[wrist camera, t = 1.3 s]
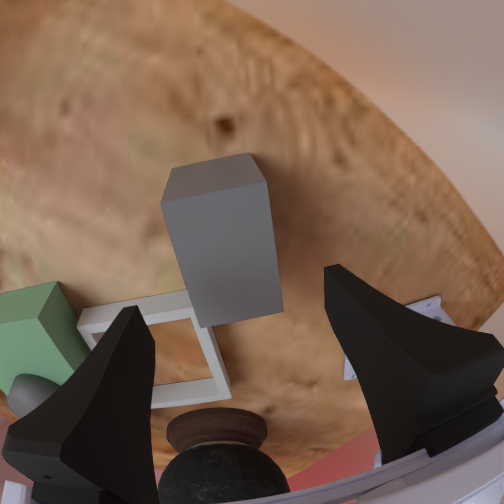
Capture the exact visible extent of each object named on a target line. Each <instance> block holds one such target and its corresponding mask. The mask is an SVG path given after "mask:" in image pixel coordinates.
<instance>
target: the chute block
mask: <svg viewBox="0 0 504 504" xmlns="http://www.w3.org/2000/svg"><path fill="white" fill-rule="evenodd" d="M160 204H161V208H162V211H163V215H164V218H165V222H166V225H167V228H168V232H169V235H170V238H171V242H172V245H173V248H174V251H175V255H176V258H177V261H178V264H179V267H180V270H181V273H182V276H183V280H184V283H185V286H186V289H187V292H188V295H189V298H190V300H191V303H192V306H193V309H194V312H195V315H196V318H197V321H198V324H199V326H200V328H206V327H211V326H216V325H222V324H227V323H232V322H237V321H242V320H247V319H252V318H257V317H261V316H266V315H271V314H275V313H280V312H284V309H283V301H282V293H281V285H280V277H279V269H278V261H277V253H276V246H275V238H274V230H273V223H272V216H271V208H270V201H269V194H268V187H267V181H266V180H265V178H264V176H263V175H262V173H261V171H260V170H259V168H258V166H257V165H256V163H255V161H254V160H253V158H252V157H251V155H250V153H245V154H239V155H234V156H229V157H223V158H218V159H213V160H209V161H204V162H199V163H194V164H190V165H185V166H181V167H177V168H172V170H171V173H170V176H169V179H168V182H167V185H166V188H165V191H164V194H163V197H162V200H161V203H160Z"/></svg>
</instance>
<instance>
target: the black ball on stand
mask: <svg viewBox="0 0 504 504" xmlns="http://www.w3.org/2000/svg"><path fill="white" fill-rule="evenodd" d="M266 436H267V427H266V424H265V421H264V420H263V419H262V418H261V417H259V416H258V415H256V414H254V413H252V412H249V411H245V410H241V409H235V408H206V409H199V410H194V411H190V412H187V413H184V414H182V415H179V416H178V417H176V418H174V419H173V420H172V421H171V422H170V423H169V424H168V426H167V440H168V442H169V443H170V444H171V445H172V446H173V448H174V449H175V450H176V451H177V452H178V453H180V454H178V455H177V456H176V457H175V458H174V459H173V460H172V461H170V463H169V464H168V466H167V467H166V469H165V470H164V472H163V473H162V475H161V478H160V481H159V484H158V496H159V501H160V504H218V503H228V502H236V501H244V500H251V499H258V498H264V497H269V496H275V495H280V494H285V493H290V489H289V486H288V483H287V480H286V477H285V475H284V474H283V472H282V471H281V469H280V467H279V466H278V465H277V464H276V463H275V462H274V461H273V460H272V459H271V458H270V457H269V456H267V455H266V454H264V453H263V452H261V451H260V450H258V448H259V447H260V446H261V445H262V443H263V441H264V440H265V438H266Z"/></svg>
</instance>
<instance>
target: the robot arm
mask: <svg viewBox="0 0 504 504" xmlns="http://www.w3.org/2000/svg"><path fill="white" fill-rule="evenodd" d="M324 296H325V310H326V313H327V316H328V318H329V321H330V324H331V326H332V329H333V331H334V333H335V335H336V337H337V339H338V341H339V343H340V345H341V347H342V349H343V351H344V352H345V364H344V375H343V377H344V379H345V380H351V379H354V378H358V381H359V383H360V386H361V389H362V391H363V394H364V397H365V400H366V403H367V406H368V409H369V412H370V415H371V418H372V421H373V424H374V427H375V431H376V434H377V438H378V441H379V445H380V449H379V450H378V451H377V453H376V456H375V461H374V469H372V470H369V471H366V472H363V473H360V474H357V475H354V476H351V477H347V478H344V479H341V480H338V481H334V482H331V483H327V484H324V485H320V486H316V487H312V488H308V489H304V490H300V491H295V492H290V493H285V494H280V495H275V496H269V497H264V498H258V499H251V500H244V501H236V502H228V503H218V504H340V503H343V502H347V501H350V500H353V499H356V498H357V501H356V502H352V503H348V504H504V397H503V398H502V399H501V400H500V401H499V402H498V400H497V398H496V397H495V395H496V394H497V393H498V392H497V389H496V388H495V386H494V385H493V384H494V383H495V381H496V379H497V378H498V376H499V375H500V373H501V371H502V369H503V368H504V348H503V346H502V345H501V344H500V343H499V341H498V340H497V339H496V338H495V337H494V335H493V334H488V333H483V332H478V331H473V330H468V329H464V328H460V327H457V326H456V325H455V323H454V322H453V321H452V320H451V318H450V317H449V316H448V315H447V313H446V312H445V311H444V310H443V309H442V307H441V306H440V304H441V297H440V296H434V297H431V298H428V299H425V300H422V301H419V302H416V303H413V304H410V305H406V306H404V305H402V304H400V303H398V302H396V301H394V300H393V299H391V298H389V297H387V296H386V295H384V294H382V293H381V292H379V291H378V290H376V289H375V288H373V287H372V286H370V285H369V284H367V283H366V282H364V281H363V280H361V279H360V278H358V277H357V276H356V275H354V274H353V273H351V272H350V271H348V270H347V269H346V268H344V267H343V266H341V265H340V264H336V265H331V266H327V267H324ZM154 374H155V341H154V339H153V337H152V335H151V333H150V331H149V329H148V327H147V324H146V322H145V320H144V318H143V316H142V314H141V312H140V310H139V307H138V305H134V306H128V307H123V308H122V310H121V311H120V312H119V314H118V315H117V316H116V318H115V319H114V321H113V322H112V323H111V325H110V326H109V328H108V329H107V330H106V332H105V333H104V335H103V336H102V337H101V339H100V340H99V342H98V343H97V344H96V346H95V347H94V348H93V350H92V351H91V352H90V353H89V355H88V356H87V357H86V359H85V360H84V361H83V363H82V364H81V365H80V366H79V367H78V368H77V370H76V371H75V372H74V373H73V374H72V375H71V376H70V377H69V378H68V380H67V381H66V382H65V383H64V384H63V385H61V386H60V387H59V388H58V389H57V390H56V391H55V392H54V393H53V394H52V395H51V396H50V397H49V398H48V399H46V400H45V401H44V402H43V403H42V404H40V405H39V406H38V407H36V408H35V409H34V410H33V411H31V412H30V413H28V414H27V415H25V416H24V417H22V418H21V419H19V420H18V421H16V422H15V423H13V424H12V425H10V426H9V428H8V432H7V435H6V438H5V442H4V446H3V450H2V456H3V457H4V459H5V461H6V462H7V463H8V464H10V465H11V466H12V467H13V468H15V469H16V470H18V471H19V472H21V473H22V474H23V475H25V476H26V477H28V478H29V479H31V480H32V481H34V484H33V488H32V487H29V486H27V485H24V484H20V483H16V482H12V481H8V480H6V481H5V486H4V491H3V497H2V503H1V504H160V501H159V496H158V491H157V485H156V480H155V472H154V465H153V456H152V445H151V426H150V417H151V403H152V393H153V383H154Z"/></svg>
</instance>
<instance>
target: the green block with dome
mask: <svg viewBox="0 0 504 504" xmlns="http://www.w3.org/2000/svg"><path fill="white" fill-rule="evenodd" d="M134 305H138V307H139V310H140V312H141V314H142V316H143V318H144V320H145V322H146V324H147V325H150V324H156V323H162V322H168V321H174V320H180V319H185V318H191V320H192V323H193V326H194V329H195V331H196V334H197V337H198V339H199V342H200V344H201V347H202V350H203V352H204V355H205V357H206V360H207V362H208V365H209V367H210V370H211V372H212V375H213V378H207V379H201V380H194V381H188V382H180V383H173V384H165V385H157V386H153V393H152V403H151V409H154V408H164V407H174V406H182V405H190V404H198V403H205V402H212V401H218V400H224V399H230V398H232V394H231V386H230V379H229V376H228V374H227V371H226V368H225V365H224V362H223V359H222V356H221V353H220V350H219V347H218V344H217V341H216V338H215V335H214V332H213V329H212V326H211V327H206V328H200V326H199V324H198V321H197V318H196V315H195V312H194V309H193V306H192V303H191V300H190V298H189V295H188V292H187V290H181V291H176V292H171V293H166V294H160V295H155V296H150V297H144V298H139V299H134V300H128V301H123V302H117V303H112V304H106V305H100V306H95V307H89V308H83V311H82V313H81V316H80V318H79V320H78V319H77V317H76V315H75V313H74V312H73V310H72V308H71V306H70V305H69V303H68V301H67V299H66V297H65V295H64V293H63V292H62V290H61V288H60V286H59V284H58V282H57V281H56V282H51V283H47V284H42V285H37V286H33V287H28V288H24V289H20V290H15V291H11V292H6V293H2V294H0V389H1V390H2V391H3V392H4V393H5V394H6V395H7V404H8V406H9V408H10V409H11V410H12V412H13V413H14V414H15V415H16V416H17V417H19V418H20V419H21V418H22V417H24V416H25V415H27V414H28V413H30V412H31V411H33V410H34V409H35V408H36V407H38V406H39V405H40V404H42V403H43V402H44V401H45V400H46V399H48V398H49V397H50V396H51V395H52V394H53V393H54V392H55V391H56V390H57V389H58V388H59V387H60V386H61V385H63V384H64V383H65V382H66V381H67V380H68V378H69V377H70V376H71V375H72V374H73V373H74V372H75V371H76V370H77V368H78V367H79V366H80V365H81V364H82V363H83V361H84V360H85V359H86V357H87V356H88V355H89V353H90V352H91V351H92V350H93V348H94V347H95V346H96V344H97V343H98V342H99V340H100V339H101V337H102V336H103V335H104V333H105V332H106V330H107V329H108V328H109V326H110V325H111V323H112V322H113V321H114V319H115V318H116V316H117V315H118V314H119V312H120V311H121V310H122V308H123V307H128V306H134Z"/></svg>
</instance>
